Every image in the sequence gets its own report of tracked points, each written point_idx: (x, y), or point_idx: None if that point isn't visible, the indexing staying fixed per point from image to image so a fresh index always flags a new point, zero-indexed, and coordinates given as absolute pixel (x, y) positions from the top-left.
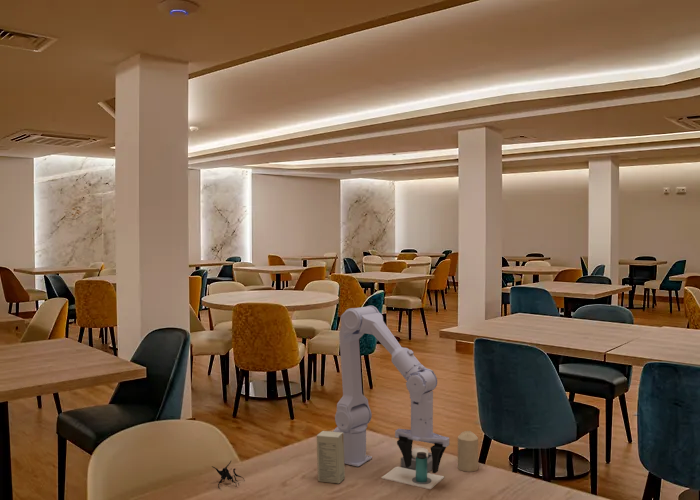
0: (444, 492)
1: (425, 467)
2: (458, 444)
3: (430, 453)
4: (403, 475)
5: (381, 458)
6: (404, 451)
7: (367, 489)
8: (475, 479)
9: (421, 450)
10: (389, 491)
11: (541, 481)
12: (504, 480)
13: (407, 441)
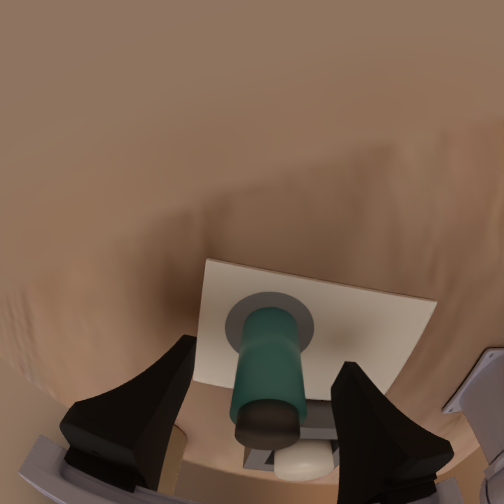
0: (142, 248)
1: (240, 364)
2: (161, 490)
3: (272, 469)
4: (355, 350)
5: (417, 421)
6: (389, 421)
7: (471, 175)
8: (105, 375)
9: (299, 471)
10: (394, 175)
11: (15, 368)
12: (54, 372)
13: (380, 487)
